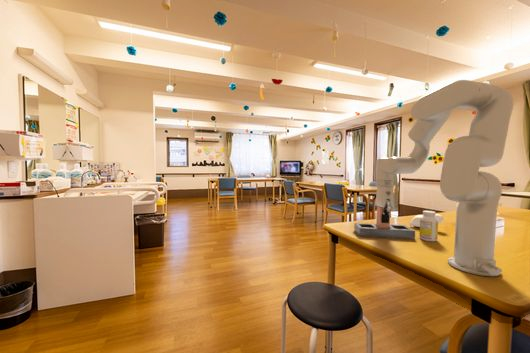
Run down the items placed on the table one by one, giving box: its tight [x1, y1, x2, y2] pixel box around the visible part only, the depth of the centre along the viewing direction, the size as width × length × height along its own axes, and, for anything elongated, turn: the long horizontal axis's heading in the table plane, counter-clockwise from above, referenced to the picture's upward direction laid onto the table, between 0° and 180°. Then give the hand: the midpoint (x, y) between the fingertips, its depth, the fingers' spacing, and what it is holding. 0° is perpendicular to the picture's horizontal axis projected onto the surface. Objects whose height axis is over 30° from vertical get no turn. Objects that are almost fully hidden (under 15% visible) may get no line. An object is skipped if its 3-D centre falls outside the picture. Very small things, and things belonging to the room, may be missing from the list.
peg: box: [375, 205, 391, 228], centre depth 108 cm, size 4×4×10 cm
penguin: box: [408, 213, 444, 228], centre depth 120 cm, size 9×8×15 cm
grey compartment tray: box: [353, 222, 416, 240], centre depth 108 cm, size 10×24×4 cm, turn 82°
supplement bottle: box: [419, 210, 439, 242], centre depth 102 cm, size 7×7×13 cm
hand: (383, 220), depth 108 cm, fingers closed on peg, 4 cm apart
